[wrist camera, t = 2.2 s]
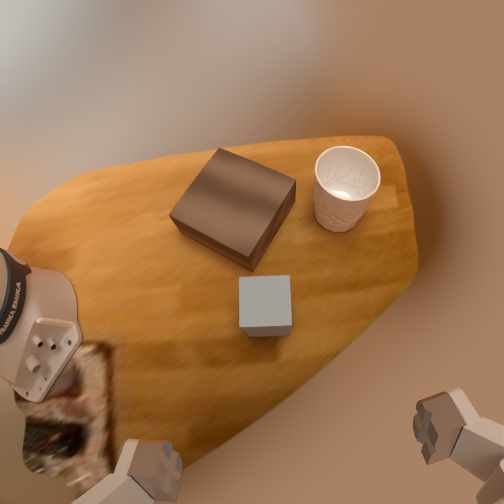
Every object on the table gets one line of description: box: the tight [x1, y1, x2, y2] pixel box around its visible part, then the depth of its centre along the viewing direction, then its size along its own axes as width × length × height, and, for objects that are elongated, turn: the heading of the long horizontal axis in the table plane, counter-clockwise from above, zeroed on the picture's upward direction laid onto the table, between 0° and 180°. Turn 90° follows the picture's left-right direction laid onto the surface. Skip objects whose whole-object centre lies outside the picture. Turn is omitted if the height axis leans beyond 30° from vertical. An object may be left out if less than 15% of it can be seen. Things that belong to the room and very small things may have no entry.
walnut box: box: [169, 148, 296, 272], centre depth 43 cm, size 12×12×6 cm
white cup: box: [314, 146, 380, 232], centre depth 40 cm, size 8×8×10 cm
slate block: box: [239, 275, 292, 337], centre depth 35 cm, size 5×5×10 cm
